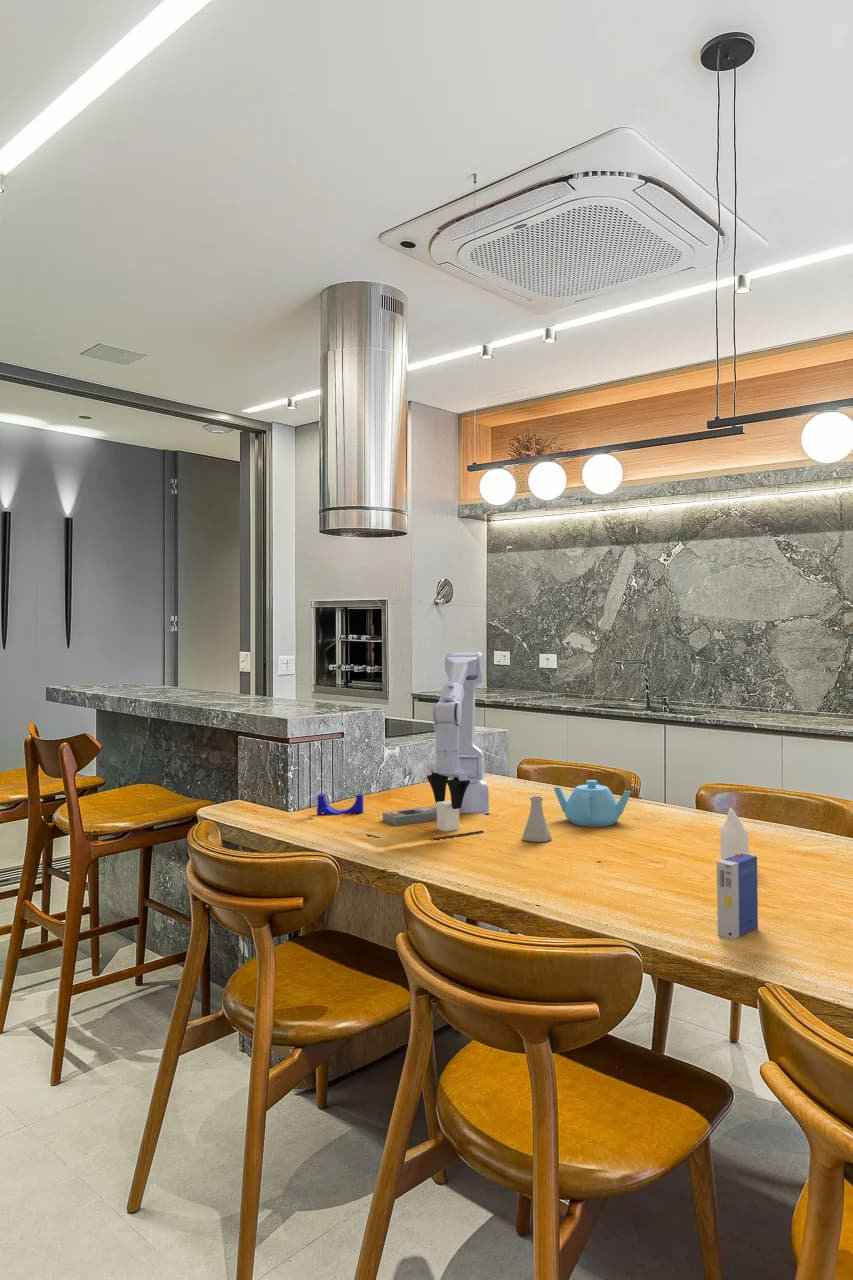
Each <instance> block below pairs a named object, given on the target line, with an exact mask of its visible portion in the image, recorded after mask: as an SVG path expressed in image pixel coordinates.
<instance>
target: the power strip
mask: <svg viewBox="0 0 853 1280" xmlns="http://www.w3.org/2000/svg"><path fill="white" fill-rule="evenodd" d="M382 821H383V822H385V823H388V824H390V825H393V826H401V825H409V824H410V825H411V824H417V823H425V822H432V821H437V805H431V806H424V807H422V806H421V807H415V808H408V809H400V810H393V811H385V812H382Z"/></svg>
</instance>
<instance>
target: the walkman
mask: <svg viewBox="0 0 853 1280" xmlns="http://www.w3.org/2000/svg"><path fill="white" fill-rule="evenodd" d="M716 889H717V890H716V891H717V893H716V896H717V897H716V898H717V899H716V900H717V901H716V902H717V903H716V904H717V936H721V937H724V938H725V939H729V940H732V941H733V940H735V939H737V938H739V937H742V936H744V935H746V934H747V933H750V932H752V931H754V930H756V929H759V920H758V918H759V917H758V916H759V915H758V914H759V912H758V910H759V909H758V905H759V904H758V902H759V901H758V898H759V897H758V856H756V855H750V854H749V855H747V854H743V853H740V852H739V853H736V855H735V856H732V857H729V858H726V859H723V860H717V861H716Z"/></svg>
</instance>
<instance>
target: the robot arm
mask: <svg viewBox="0 0 853 1280" xmlns="http://www.w3.org/2000/svg"><path fill="white" fill-rule="evenodd" d="M444 659H445V660H444V669H445V673H446V675H447V677H448V682H447V683H445V684H444V686H443V687H442V690H441V693H440V696H439V700H438V702H437V703H435V704H433V707H432V721H433V729H434V733H435V762H436V763H435V764H429V765H428V766H429V768H428V769H429V771H428V772H429V773H430V774H429V775H426V779H427V781H428V783H429V785H430V787H431V789H432V793H433V797H434V801H435V804H436V805H437V802H441V801H446V790H447V786H448V789H449V794H450V800H451V804H452V808H453V809H459V814H475V813H477V814H481V815H488V814H487V813H490V814H491V811H490V805H489V804H490V797H489V795H490V792H489V787H488V783H487V782H486V781H485V780H484V778H485V772H486V763H485V754H484V752H483V750H481V749H480V748H479V747H478V746H477V745H475V729H476V728H475V727H476V726H475V723H476V722H475V719H476V718H475V717H476V716H475V715H476V714H475V713H476V691H477V686H478V685H480V684H482V683H483V679H484V656H483V654H482V653H481V652H480V651H478V652H447V654H446V655H445V658H444Z"/></svg>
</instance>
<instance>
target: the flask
mask: <svg viewBox="0 0 853 1280" xmlns="http://www.w3.org/2000/svg"><path fill="white" fill-rule="evenodd" d="M529 799H530V810H529V815H528V818H527V821H526V824H525V827H524V831H523V834H522V840H523V841H526V842H527V841H528V842H532V843H533V842H535V843H536V842H537V843H545V842H549V841H552V840H553V839H552V834H551V832H550V828H549V826H548V824H547V821H546V818H545V815H544V810H543V800H544V797H543V796H539V795H533V796H529Z"/></svg>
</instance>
